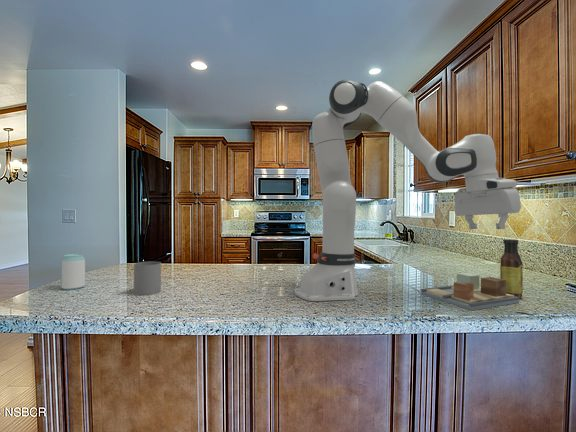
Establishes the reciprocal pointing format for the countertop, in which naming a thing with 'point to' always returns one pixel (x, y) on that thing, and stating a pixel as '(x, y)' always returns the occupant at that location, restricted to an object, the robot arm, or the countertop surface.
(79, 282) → the can
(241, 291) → the countertop surface
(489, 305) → the lane board
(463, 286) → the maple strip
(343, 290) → the robot arm
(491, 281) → the walnut cube
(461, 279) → the sage block
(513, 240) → the sauce bottle
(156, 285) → the cup
